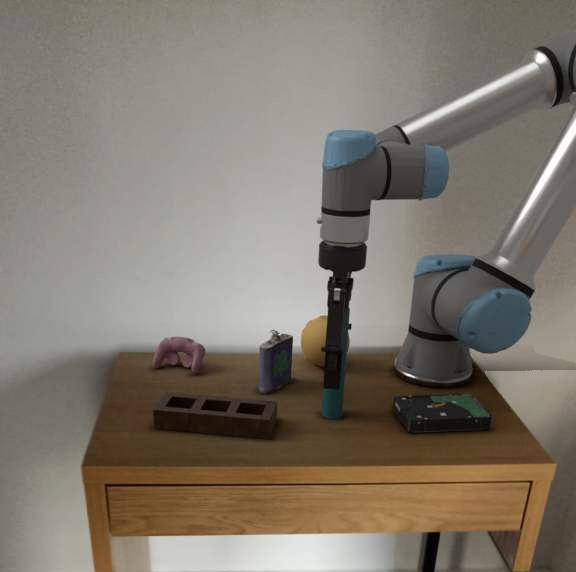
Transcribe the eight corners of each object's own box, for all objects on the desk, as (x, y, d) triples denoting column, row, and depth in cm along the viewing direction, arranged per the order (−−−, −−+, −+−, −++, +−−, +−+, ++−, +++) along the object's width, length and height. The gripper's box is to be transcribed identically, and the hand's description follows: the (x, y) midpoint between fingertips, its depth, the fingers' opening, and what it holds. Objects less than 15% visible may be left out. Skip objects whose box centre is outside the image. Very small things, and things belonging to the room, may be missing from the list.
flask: (266, 395, 139) (267, 338, 133) (254, 391, 140) (254, 335, 135) (294, 380, 145) (296, 326, 140) (281, 376, 147) (283, 323, 141)
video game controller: (204, 377, 149) (209, 341, 149) (195, 374, 145) (201, 338, 144) (159, 370, 152) (164, 335, 151) (149, 367, 147) (154, 331, 147)
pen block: (276, 420, 130) (277, 401, 128) (269, 439, 123) (269, 420, 122) (166, 410, 132) (165, 391, 130) (154, 428, 125) (152, 409, 124)
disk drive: (408, 435, 127) (491, 430, 129) (410, 420, 125) (494, 415, 127) (391, 409, 135) (469, 405, 137) (392, 395, 134) (471, 391, 136)
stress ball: (353, 372, 150) (357, 323, 144) (305, 375, 148) (307, 325, 143) (340, 355, 158) (344, 308, 153) (295, 357, 156) (296, 309, 151)
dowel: (342, 411, 134) (350, 305, 124) (341, 420, 131) (349, 312, 121) (322, 409, 134) (329, 304, 124) (320, 418, 131) (326, 310, 121)
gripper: (326, 225, 126) (319, 353, 138) (311, 256, 108) (304, 400, 120) (371, 228, 126) (360, 356, 137) (363, 259, 107) (351, 404, 119)
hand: (334, 377), depth 129 cm, fingers open, 9 cm apart
